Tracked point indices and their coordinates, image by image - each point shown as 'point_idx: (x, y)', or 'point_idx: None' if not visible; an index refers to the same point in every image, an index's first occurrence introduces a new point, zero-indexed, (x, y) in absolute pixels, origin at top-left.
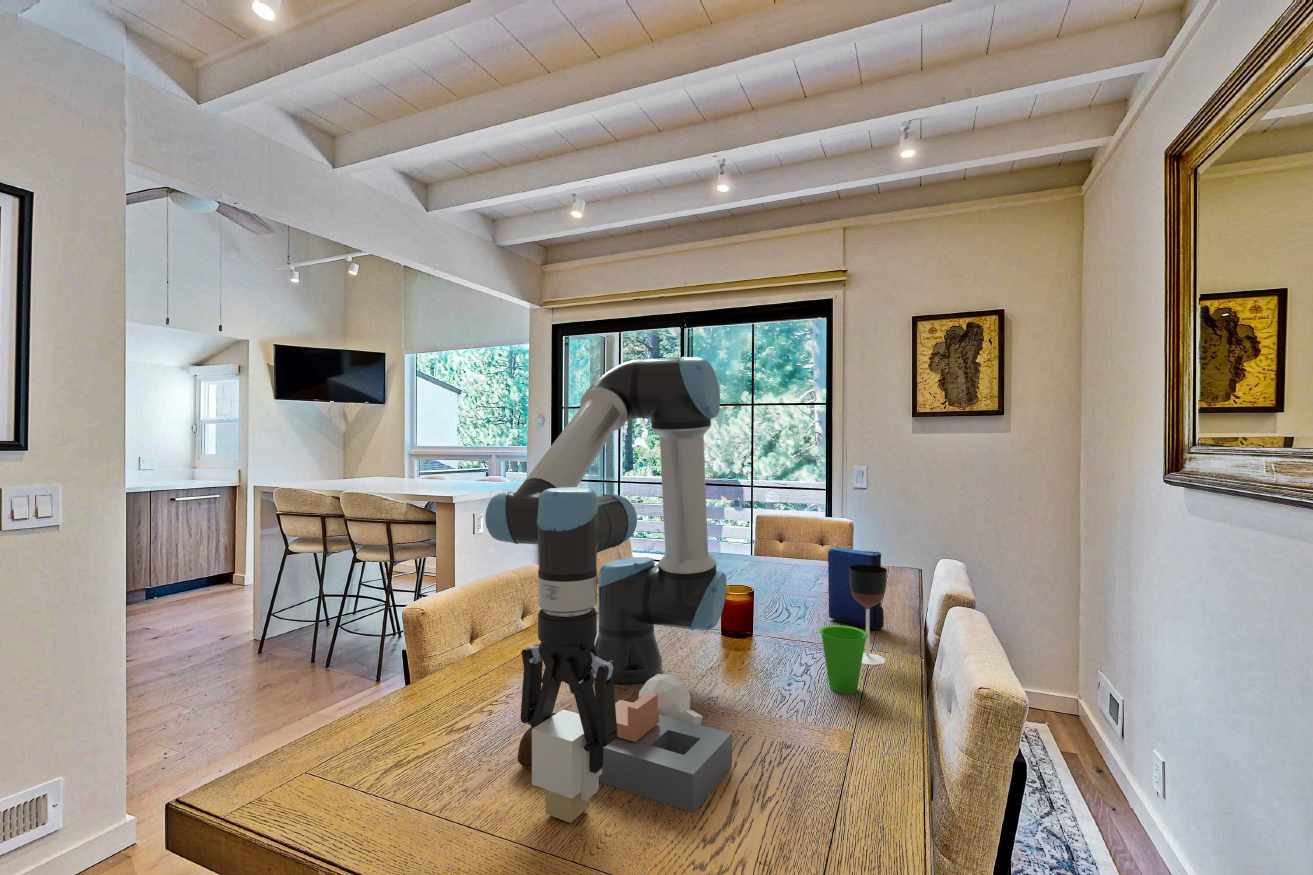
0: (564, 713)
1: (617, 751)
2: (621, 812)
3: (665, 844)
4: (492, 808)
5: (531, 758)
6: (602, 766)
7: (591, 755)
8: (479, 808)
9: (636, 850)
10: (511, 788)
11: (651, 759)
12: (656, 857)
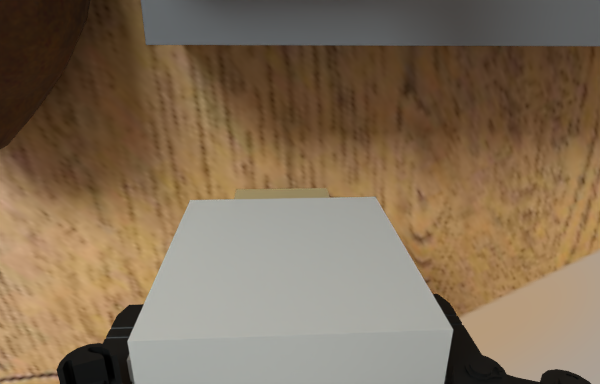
0: (180, 375)
1: (359, 43)
2: (412, 145)
3: (569, 198)
4: (94, 300)
5: (4, 141)
6: (443, 300)
7: None
8: (66, 315)
9: (510, 248)
10: (52, 213)
11: (530, 26)
12: (561, 245)
